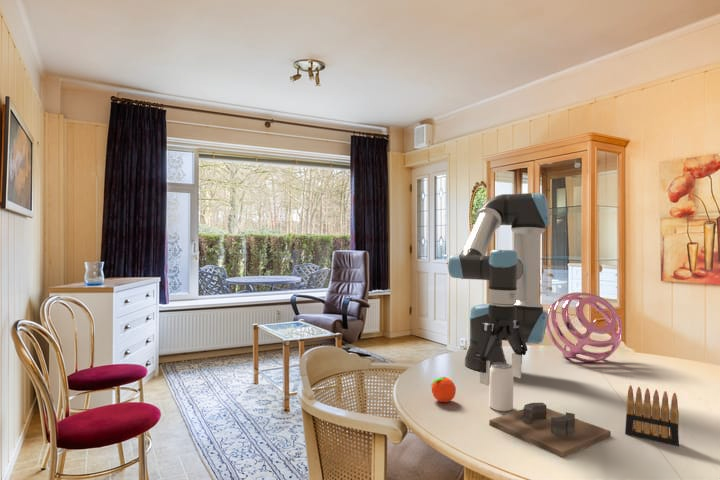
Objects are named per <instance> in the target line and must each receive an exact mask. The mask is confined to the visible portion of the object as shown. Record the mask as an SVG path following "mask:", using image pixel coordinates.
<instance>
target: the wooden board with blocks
mask: <svg viewBox="0 0 720 480" xmlns="http://www.w3.org/2000/svg"><path fill="white" fill-rule="evenodd" d="M575 415H576V414H575V413H572V412H565V414H564V413H561V412H558V411H556V410H554V409H551V408H548V407H547V404H545V403H544V402H529V403H526V404H525V405H524V406H523V408H522V409H519V410H517V411H513V412H510V413H508V414H503V415H501V416H498V417H494V418H492V419H489V421H488V422H489V423H488V424H489V426H492V427H494V428H496V429H498V430H500V431H503V432H505V433H507V434H510V435H512V436H514V437H516V438H518V439H520V440H523V441H525V442H528V443H529V444H531V445H534V446H536V447H538V448H541V449H543V450H545V451H547V452H550V453H551V454H554V455H556V456H559V457H561V458H565V457H568V456H570V455H572V454H574V453H577V452H579V451H581V450H583V449H585V448H587V447H589V446H591V445H594V444H596V443H598V442H600V441H602V440H605V439H608V438H610V437H611V432H612V431H611V430H608V429H606V428H603V427H600V426H597V425H596V424H592V423H590V422H586V421H584V420H581V419H578V418H576V416H575Z"/></svg>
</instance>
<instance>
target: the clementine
mask: <svg viewBox="0 0 720 480" xmlns="http://www.w3.org/2000/svg"><path fill="white" fill-rule="evenodd" d="M430 387H431V393H432V396H433V398H434V399H435V400H437V401H438V402H440V403H449V402H450V401H452V400H453V399H454V398H455V396H456V393H457V389H456V385H455V383H454V382H453V380H451V379H450V378H449V377H444V376H442V377H438V378H436V379H434V380H433V381H432V383H431V385H430Z"/></svg>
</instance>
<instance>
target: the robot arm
mask: <svg viewBox="0 0 720 480" xmlns="http://www.w3.org/2000/svg"><path fill="white" fill-rule="evenodd" d="M474 220H475V222H474V225H473V226H472V228H471V230H470V233H469V235H468V237H467V240H466V241H465V243H464V246H463V248H462V249H461V252H460V254H458V253H457V254H452V255H450V257H449V259H448V264H447V270H448V273H449V276H450V277H451V278H454V279H461V280H480V281H481V280H484V281H488V299H487V300H488V301H487V302H488V303H481V304H476V305H473V306H472V307H471V309H470V315H469V344H468V345H469V346H468V348H467V352H466V355H465V358H464V366H465V367H467V368H469V369H472V370H475V371H479V384H482V385H484V386H487V387H489V385H490V367H491V364H492V363H495V362H501V363H507V364H508V361H507V359H506V356H505V352H504V349H503V341H506V342H508V344H509V345H510V347H511V349H512V351H513V353H511V365H512V370H513V378H517V379H522V364H523V356H525V355H526V354H527V352H528V346H527V345H529V344H533V345H538V344H539V345H540V344H541V343H542V342H543V340H544V337H545V334H546V331H547V328H546V325H547V316H548V314H547V312H548V311H545V310H544V306H543V305H542V303H541V302H540V300H539V298H540V297H539V295H540V271H541V270H540V268H541V266H540V265H541V261H540V260H541V236H542V234H543V233H544V232H545V231H546V226H550V224H551V217H550V208H549V201H548V198H547V196H546V195H545V194H544V193H540V192H539V193H536V192H534V193H533V192H530V193H529V192H528V193H512V194H511V193H508V194H507V193H506V194H505V193H503V194H498V195H496V196H494V197H491V198H490V199H489V200H487V201H485V202H483V204H482V205H480V207H479V208H478V209H477V212H476V213H475V216H474ZM501 226H511V231H512V232H513V233H514V234H515V237H514V238H515V241H514V242H515V243H514V244H515V245H514V249H492V250H490V252H489V255H487V253H488V249H489V248H490V245H491V242H492V240H493V238H494V235H495V232H496V230H497V229H499V228H500V227H501Z"/></svg>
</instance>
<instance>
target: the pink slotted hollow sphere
mask: <svg viewBox="0 0 720 480" xmlns="http://www.w3.org/2000/svg"><path fill="white" fill-rule="evenodd" d="M581 296H585V297H581ZM572 301H576V302H577V304H576V306H575V315H576V317H577V320H578V321H579V323H580V324H581V325H582V326H583V327H584V328H585V329H586V331H585V332H584V333H581V332H580V331H579V330H578V329H577V328H576V327H575V326H574V325H573V323H572V321H571V318H570V316H569V307H570V304H571V303H572ZM561 302H563V304H562V307H561V317H562V321H563V323H564V326H565V328H566V329H567V331H569V333H570V334H571V335H572V336H573V337H574V338H575V339H576V340H577V343H573V342H571V340H569V339H568V337H566V336H565V334H564V333H563V331H562V330H561V328H560V326H559V324H558V321H557V310H558V309H557V308H558V307H559V304H560V303H561ZM597 303H598V304H597ZM586 304H587V305H588V306H590V307H592V308H594V309H595V310H597V312H599V314H601V316H602V317H603V320H604V322H605V326H597V325H596V323H597V318H595V319H594V320H593V321H592V322H590V321H589V320H588V319H587V318H586V316H585V314H584V308H585V305H586ZM599 304H601V305H602V306H603V307H605V308H606V309H607V310H608V312H609V313H610V314H608V313H607V311H606V310H605V309H604V308H603V307H601V305H599ZM546 312H547V314H548V316H547V325H546V332H547V335H548V336H549V339H550V340H551V342H552V343H553V344H554V346H555V347H556V348H557V349H558V350H559V351H561V354H562V356H563V357H564V358H566V359H571V360H572V359H573V360H576V361H578V362H583V363H596V362H597V363H598V362H601V361H604V360H606V359H607V358H609V357H610V356H612V355H613V354H614V353H615V351H617V349H618V348H619V346H620V345H621V343H622V338H623V323H622V319H621V317H620V315H619V313H618V311H617V309H616V308H615V307H614V306H613V305H612V303H610V302H609V301H608V300H607V299H605V298H604V297H601V296H600V295H597V294H595V293H590V292H578V291H577V292H570V293H566V294H564V295H562V296H560V297H559V298H558V299H557V300H556V301H554V302H553V303H552V304H551V305H550V307H549V308H548V310H547V311H546ZM550 318H551V319H550ZM550 320H551V325H552V327H553V330H554V332H555V334H556V335H557V337H558V338H559V339H560V340H561V342H562V343H563V344H564V345H563V346H564V347H563V346H562V345H561V344H560V343H559V342H558V341H557V339H556V338H555V337H554V335H553V333H552V330H551V327H550V322H549V321H550ZM616 327H618V330H617V328H616ZM593 333H595V334H600V335H606V334H608V333H609V334H610V336H611V337H610V339H608V340H601V341H600V340H596V339H595V340H594V339H592V338H591V334H593ZM584 346H591V347H595V348H606V347H610V346H611V347H610V349H609V350H607V351H603V352H594V351H593V352H592V351H589V350H585V349H584ZM567 348H569V350H567ZM578 355H582V356H585V357H590V358H593V359H587V358H582V357H580V356H578Z"/></svg>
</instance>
